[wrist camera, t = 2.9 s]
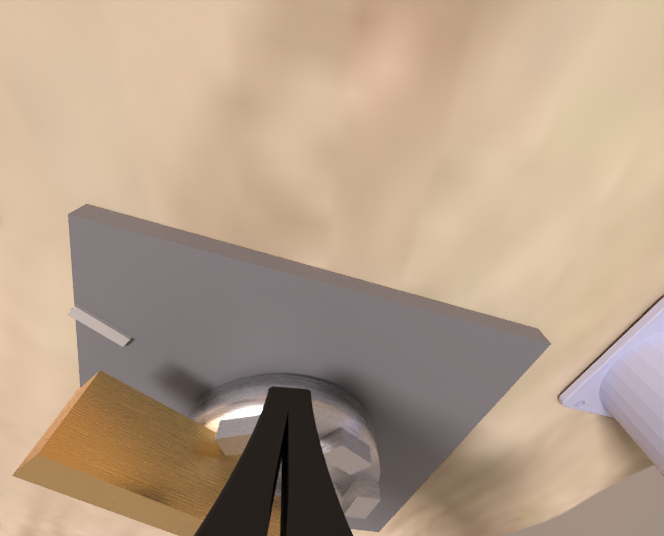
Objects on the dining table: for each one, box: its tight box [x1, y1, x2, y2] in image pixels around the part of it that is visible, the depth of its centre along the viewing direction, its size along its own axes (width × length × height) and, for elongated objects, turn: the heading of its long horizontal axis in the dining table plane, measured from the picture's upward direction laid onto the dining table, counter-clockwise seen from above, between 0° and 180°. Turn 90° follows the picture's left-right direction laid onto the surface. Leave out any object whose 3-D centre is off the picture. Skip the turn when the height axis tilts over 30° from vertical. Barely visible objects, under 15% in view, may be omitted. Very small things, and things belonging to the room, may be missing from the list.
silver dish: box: [12, 370, 381, 536], centre depth 14 cm, size 14×10×5 cm
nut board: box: [68, 204, 551, 532], centre depth 18 cm, size 20×20×1 cm
